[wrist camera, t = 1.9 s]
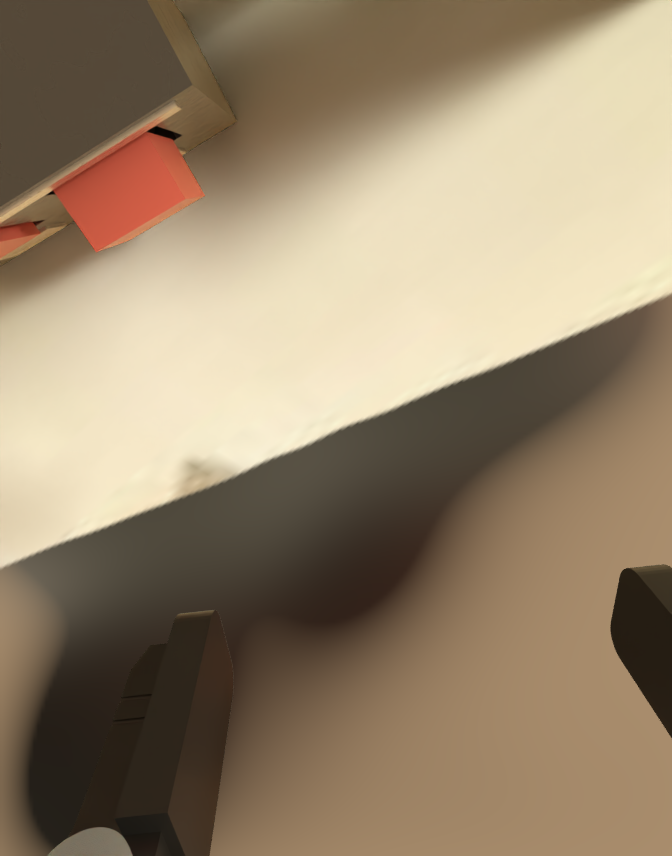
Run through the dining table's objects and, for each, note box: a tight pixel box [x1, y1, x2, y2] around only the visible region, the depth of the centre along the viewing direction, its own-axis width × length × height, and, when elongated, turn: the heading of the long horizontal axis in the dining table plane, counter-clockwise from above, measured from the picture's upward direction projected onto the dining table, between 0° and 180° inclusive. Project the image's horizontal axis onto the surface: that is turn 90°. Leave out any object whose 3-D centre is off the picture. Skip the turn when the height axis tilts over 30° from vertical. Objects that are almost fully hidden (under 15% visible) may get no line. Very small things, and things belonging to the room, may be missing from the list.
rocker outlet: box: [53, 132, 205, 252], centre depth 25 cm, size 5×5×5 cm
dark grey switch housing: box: [0, 0, 237, 266], centre depth 26 cm, size 20×6×14 cm, turn 117°
